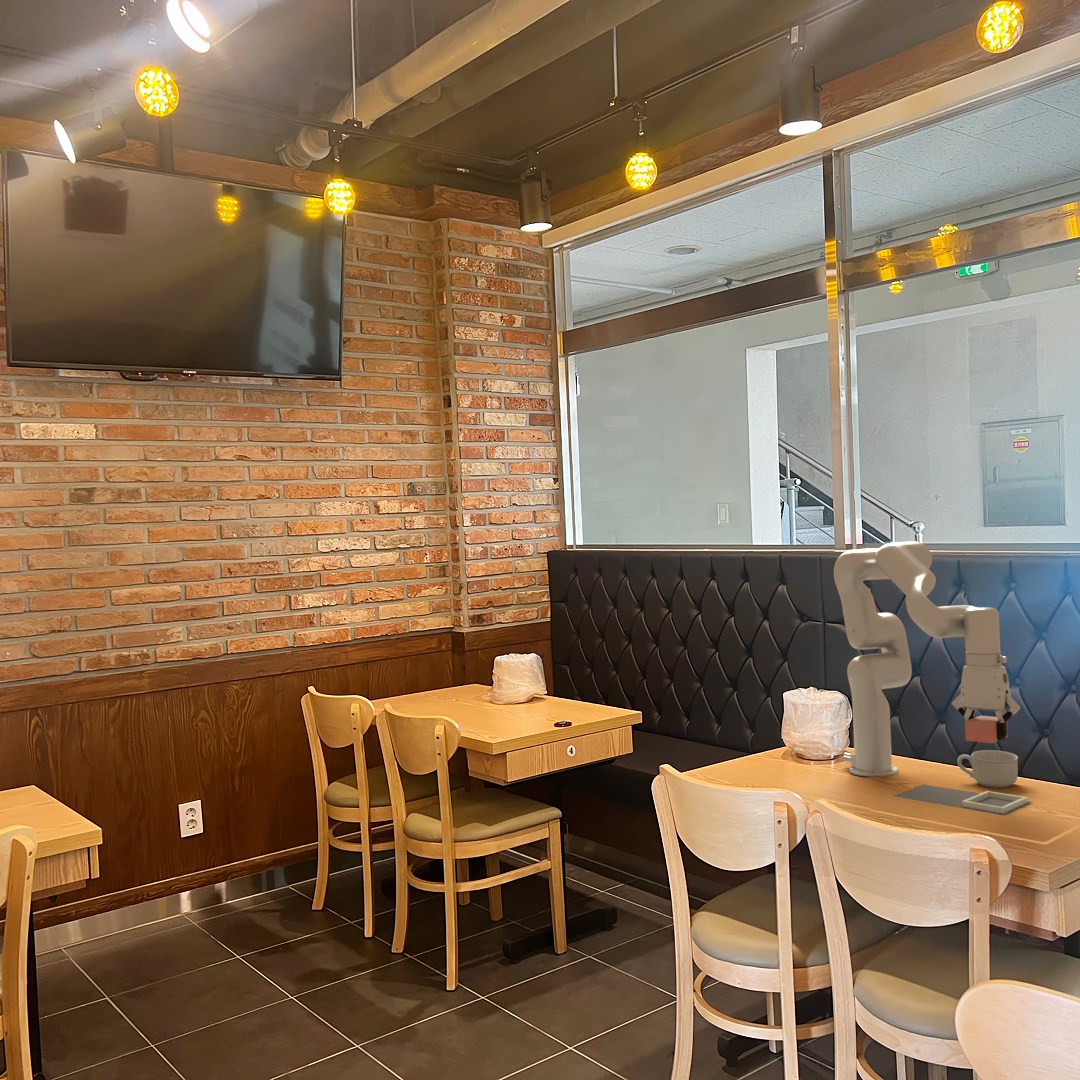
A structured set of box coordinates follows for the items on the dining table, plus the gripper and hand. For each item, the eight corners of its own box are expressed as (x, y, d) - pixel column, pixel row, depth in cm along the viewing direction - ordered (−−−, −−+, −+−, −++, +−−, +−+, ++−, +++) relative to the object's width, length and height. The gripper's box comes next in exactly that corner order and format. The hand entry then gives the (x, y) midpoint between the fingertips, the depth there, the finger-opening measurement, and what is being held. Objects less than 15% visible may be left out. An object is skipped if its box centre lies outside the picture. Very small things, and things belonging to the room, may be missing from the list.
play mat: (893, 797, 249) (893, 795, 249) (924, 786, 259) (924, 784, 259) (1004, 817, 229) (1004, 815, 229) (1033, 804, 239) (1033, 802, 239)
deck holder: (962, 806, 237) (961, 801, 237) (987, 795, 246) (987, 790, 246) (1003, 813, 230) (1003, 808, 230) (1028, 802, 238) (1027, 797, 238)
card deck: (981, 734, 244) (981, 715, 244) (1007, 737, 240) (1006, 717, 240) (965, 740, 238) (964, 721, 238) (991, 743, 234) (991, 723, 234)
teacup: (1022, 783, 258) (1021, 752, 258) (1015, 793, 249) (1014, 760, 249) (963, 778, 266) (962, 747, 266) (954, 787, 257) (953, 755, 257)
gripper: (1027, 660, 235) (1031, 739, 235) (953, 657, 248) (957, 731, 248) (1015, 664, 230) (1018, 744, 230) (940, 660, 243) (943, 736, 242)
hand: (986, 737), depth 239 cm, fingers closed on card deck, 6 cm apart
